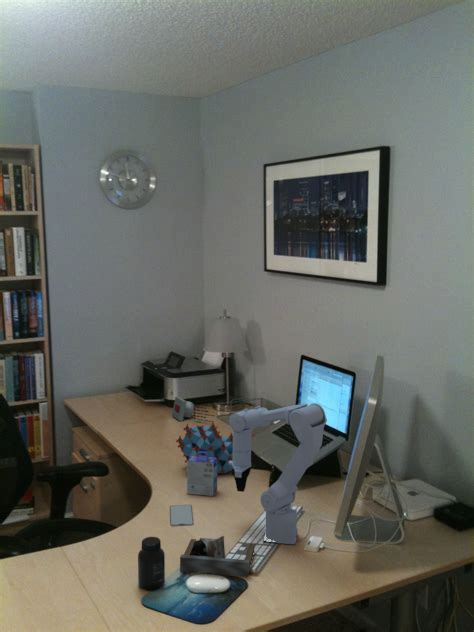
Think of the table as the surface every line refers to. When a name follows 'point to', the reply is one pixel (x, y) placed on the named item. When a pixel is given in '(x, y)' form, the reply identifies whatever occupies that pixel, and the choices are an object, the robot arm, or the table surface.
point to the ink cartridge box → (202, 475)
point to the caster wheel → (210, 547)
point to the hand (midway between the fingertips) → (240, 490)
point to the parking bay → (215, 563)
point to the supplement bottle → (151, 565)
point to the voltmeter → (186, 409)
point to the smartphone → (181, 515)
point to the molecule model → (208, 445)
